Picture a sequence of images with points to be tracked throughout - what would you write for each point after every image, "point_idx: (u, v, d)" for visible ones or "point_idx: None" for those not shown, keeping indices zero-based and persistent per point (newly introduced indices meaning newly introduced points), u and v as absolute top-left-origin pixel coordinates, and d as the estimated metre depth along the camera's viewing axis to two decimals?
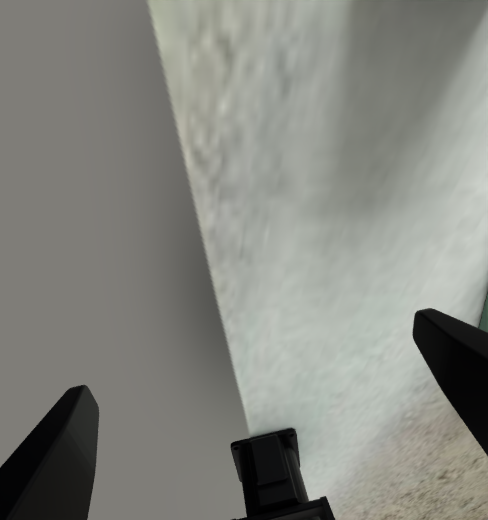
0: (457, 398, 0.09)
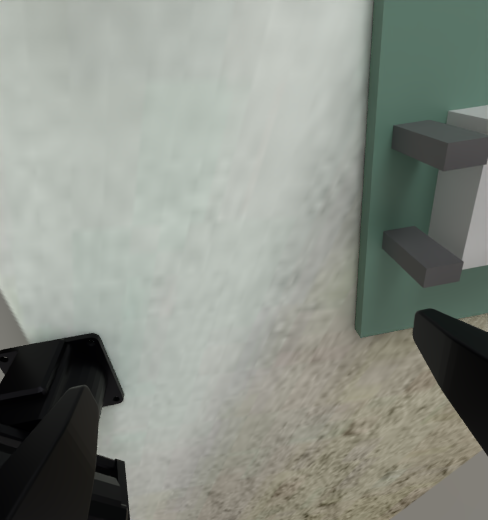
0: (457, 398, 0.09)
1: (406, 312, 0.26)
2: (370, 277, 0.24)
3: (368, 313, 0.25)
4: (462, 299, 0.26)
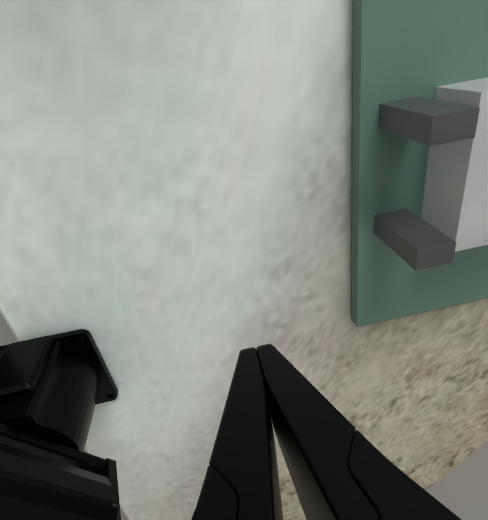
0: (279, 440, 0.08)
1: (402, 299, 0.25)
2: (363, 263, 0.23)
3: (363, 301, 0.25)
4: (460, 284, 0.25)
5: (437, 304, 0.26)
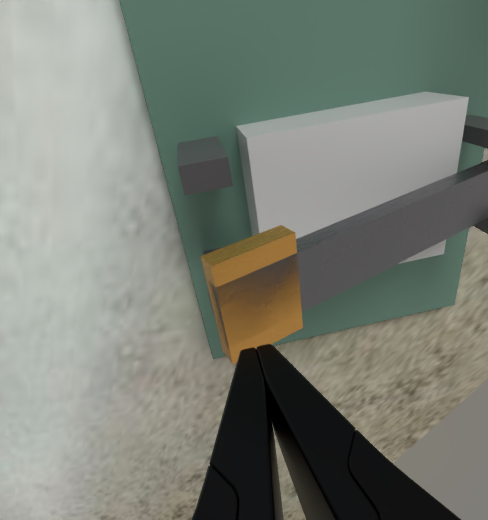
0: (279, 440, 0.08)
1: None
2: (203, 298, 0.23)
3: (213, 334, 0.24)
4: (315, 316, 0.25)
5: (295, 335, 0.25)
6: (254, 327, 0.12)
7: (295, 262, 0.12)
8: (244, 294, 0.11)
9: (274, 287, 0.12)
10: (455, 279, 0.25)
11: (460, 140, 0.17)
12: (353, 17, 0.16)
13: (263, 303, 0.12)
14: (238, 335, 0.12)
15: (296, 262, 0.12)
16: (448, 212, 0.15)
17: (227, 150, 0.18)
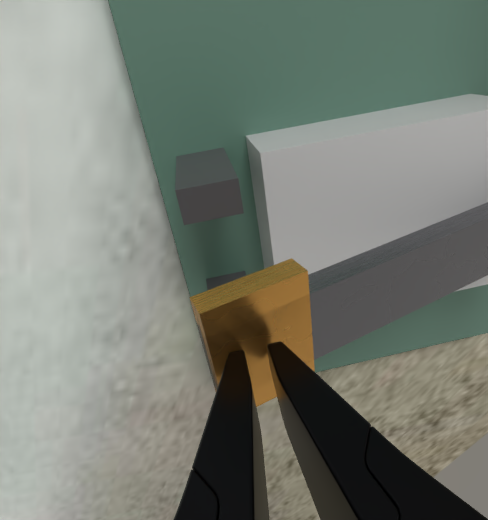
0: (291, 438, 0.08)
1: None
2: None
3: None
4: None
5: None
6: (255, 379, 0.10)
7: (307, 305, 0.10)
8: (242, 343, 0.09)
9: (281, 333, 0.10)
10: None
11: None
12: (389, 4, 0.14)
13: (266, 352, 0.10)
14: None
15: (308, 305, 0.10)
16: None
17: (235, 164, 0.16)
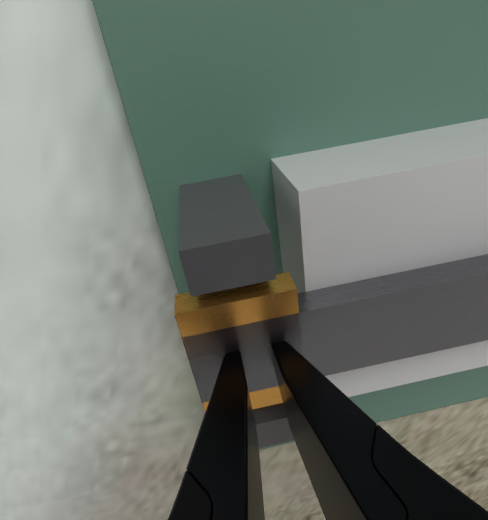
0: (296, 437, 0.08)
1: None
2: None
3: None
4: (365, 403, 0.18)
5: None
6: None
7: (297, 324, 0.09)
8: (221, 349, 0.09)
9: (265, 347, 0.09)
10: None
11: None
12: None
13: (248, 363, 0.10)
14: None
15: (298, 323, 0.09)
16: None
17: (256, 194, 0.12)
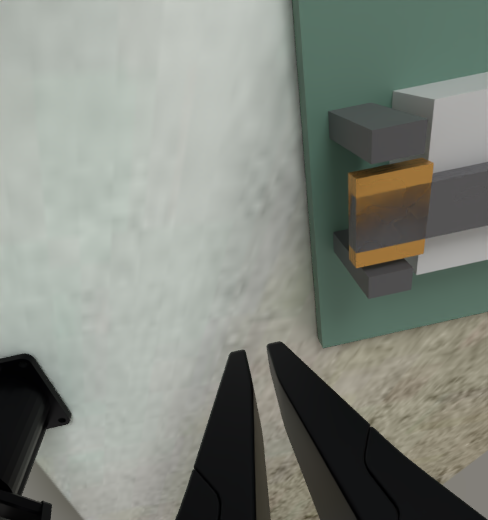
0: (291, 438, 0.08)
1: (371, 319, 0.23)
2: (325, 283, 0.21)
3: (328, 322, 0.23)
4: (435, 302, 0.23)
5: (411, 324, 0.24)
6: (380, 241, 0.15)
7: (428, 191, 0.14)
8: (377, 209, 0.14)
9: (405, 208, 0.14)
10: None
11: None
12: None
13: (392, 221, 0.14)
14: (365, 244, 0.15)
15: (429, 191, 0.14)
16: None
17: None
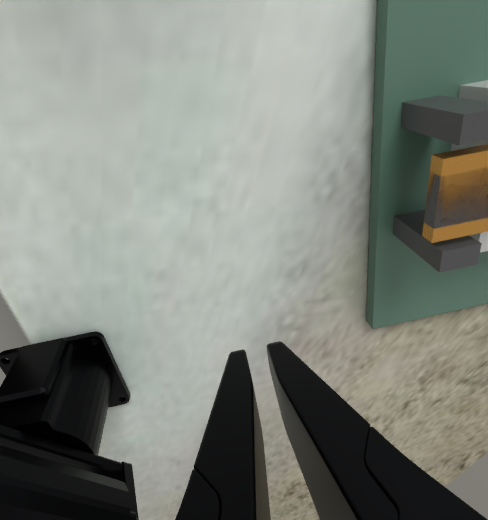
0: (291, 438, 0.08)
1: (419, 301, 0.25)
2: (381, 265, 0.23)
3: (380, 303, 0.24)
4: (477, 285, 0.25)
5: (454, 306, 0.25)
6: (456, 217, 0.16)
7: None
8: (457, 187, 0.16)
9: (481, 187, 0.16)
10: None
11: None
12: None
13: (468, 199, 0.16)
14: (443, 220, 0.16)
15: None
16: None
17: None
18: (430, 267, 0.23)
